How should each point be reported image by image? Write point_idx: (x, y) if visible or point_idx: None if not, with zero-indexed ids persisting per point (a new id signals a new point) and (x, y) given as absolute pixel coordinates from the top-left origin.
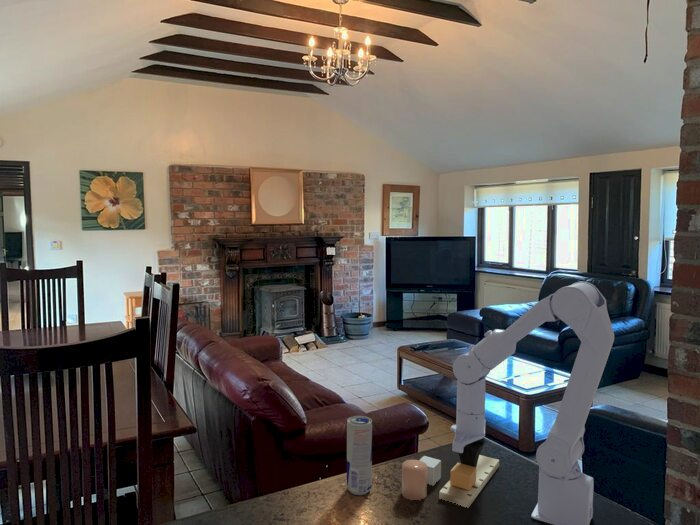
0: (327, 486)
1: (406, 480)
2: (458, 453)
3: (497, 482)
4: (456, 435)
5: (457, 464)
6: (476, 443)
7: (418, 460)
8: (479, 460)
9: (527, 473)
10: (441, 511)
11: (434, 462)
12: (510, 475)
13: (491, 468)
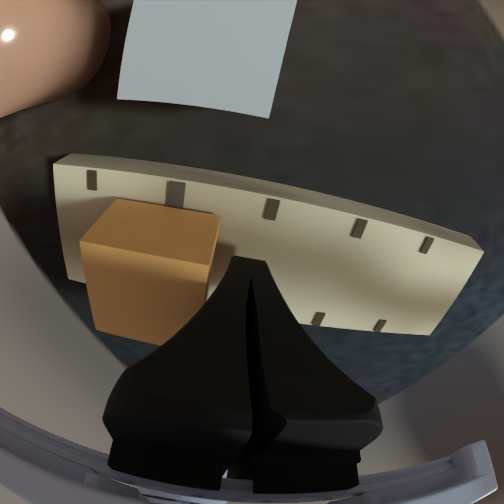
0: None
1: None
2: (187, 325)
3: (306, 327)
4: (56, 495)
5: (177, 268)
6: (231, 469)
7: (2, 28)
8: (428, 280)
9: (379, 374)
10: (19, 187)
11: (207, 75)
12: (363, 348)
13: (363, 326)
